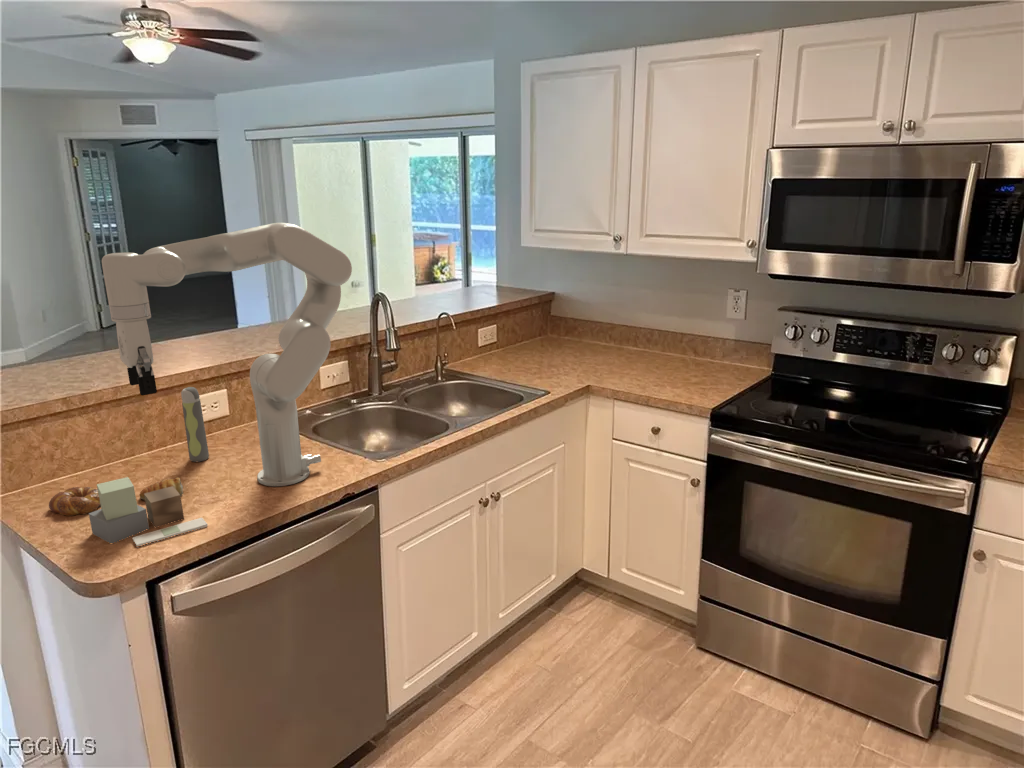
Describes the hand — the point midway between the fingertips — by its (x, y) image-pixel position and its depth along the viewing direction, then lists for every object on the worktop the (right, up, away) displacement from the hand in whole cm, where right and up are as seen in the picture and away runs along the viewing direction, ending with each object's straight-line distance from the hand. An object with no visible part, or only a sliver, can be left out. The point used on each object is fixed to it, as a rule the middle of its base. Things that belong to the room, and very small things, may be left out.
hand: (143, 388), depth 155 cm
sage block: (-3, -26, -5) cm, 27 cm away
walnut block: (+4, -29, +2) cm, 29 cm away
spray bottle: (-3, -19, +35) cm, 40 cm away
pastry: (-2, -26, +14) cm, 30 cm away
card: (+8, -31, -4) cm, 32 cm away
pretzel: (-19, -28, +9) cm, 35 cm away
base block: (-3, -31, -3) cm, 31 cm away
